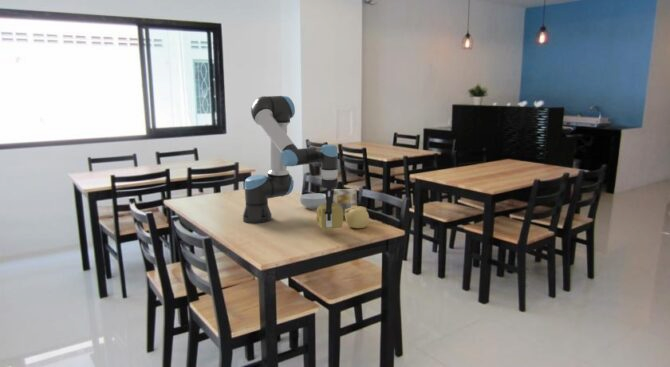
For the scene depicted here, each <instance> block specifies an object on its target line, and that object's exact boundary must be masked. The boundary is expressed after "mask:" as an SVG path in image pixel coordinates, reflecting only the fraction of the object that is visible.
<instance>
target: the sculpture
mask: <svg viewBox="0 0 670 367" xmlns="http://www.w3.org/2000/svg"><path fill="white" fill-rule="evenodd" d="M345 219H346V220H345V222H346V224H347V226H348V227H349V228H354V229H364V228H366V227H367V226H368V225H369V222H370V215H369V212H368V211H367V207H365V206H361V205H360V206H359V205H357V206H353V207H351V208H348V209H346V210H345Z"/></svg>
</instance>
